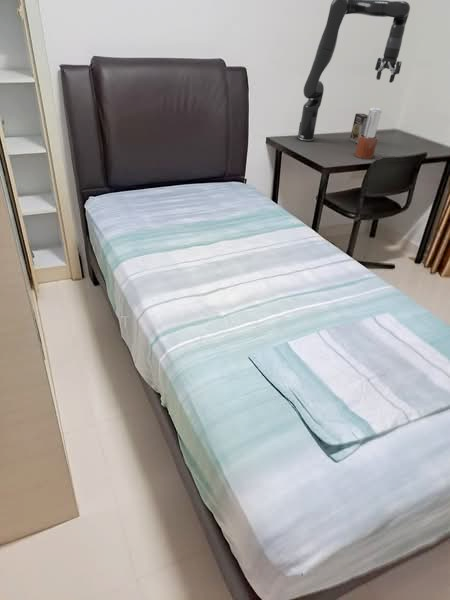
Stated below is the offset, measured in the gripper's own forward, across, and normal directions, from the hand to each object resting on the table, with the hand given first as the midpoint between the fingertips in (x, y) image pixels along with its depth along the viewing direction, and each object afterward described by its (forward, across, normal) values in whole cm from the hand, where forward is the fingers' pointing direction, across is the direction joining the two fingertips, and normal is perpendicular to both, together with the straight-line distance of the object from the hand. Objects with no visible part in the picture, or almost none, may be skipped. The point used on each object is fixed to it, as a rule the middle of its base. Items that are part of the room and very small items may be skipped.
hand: (384, 81), depth 237 cm
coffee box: (+38, -16, +11) cm, 43 cm away
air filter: (+38, +6, -10) cm, 39 cm away
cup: (+38, +6, -10) cm, 40 cm away
